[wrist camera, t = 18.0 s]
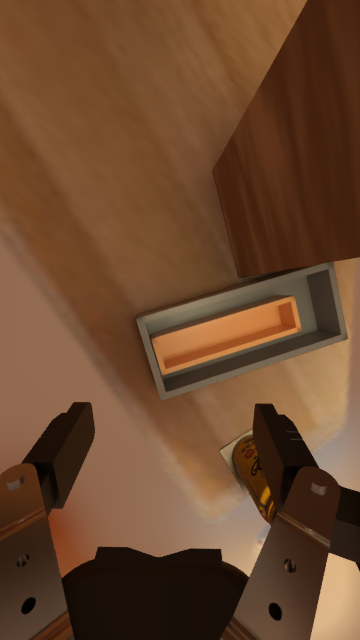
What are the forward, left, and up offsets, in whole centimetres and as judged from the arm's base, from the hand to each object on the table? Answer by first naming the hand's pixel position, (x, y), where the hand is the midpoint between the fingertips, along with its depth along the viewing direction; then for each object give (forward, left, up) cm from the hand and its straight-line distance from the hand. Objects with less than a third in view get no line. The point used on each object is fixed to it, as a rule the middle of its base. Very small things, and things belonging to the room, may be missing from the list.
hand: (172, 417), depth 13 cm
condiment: (+22, -7, -22) cm, 32 cm away
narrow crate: (+7, +6, -21) cm, 23 cm away
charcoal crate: (+8, +8, -22) cm, 24 cm away
